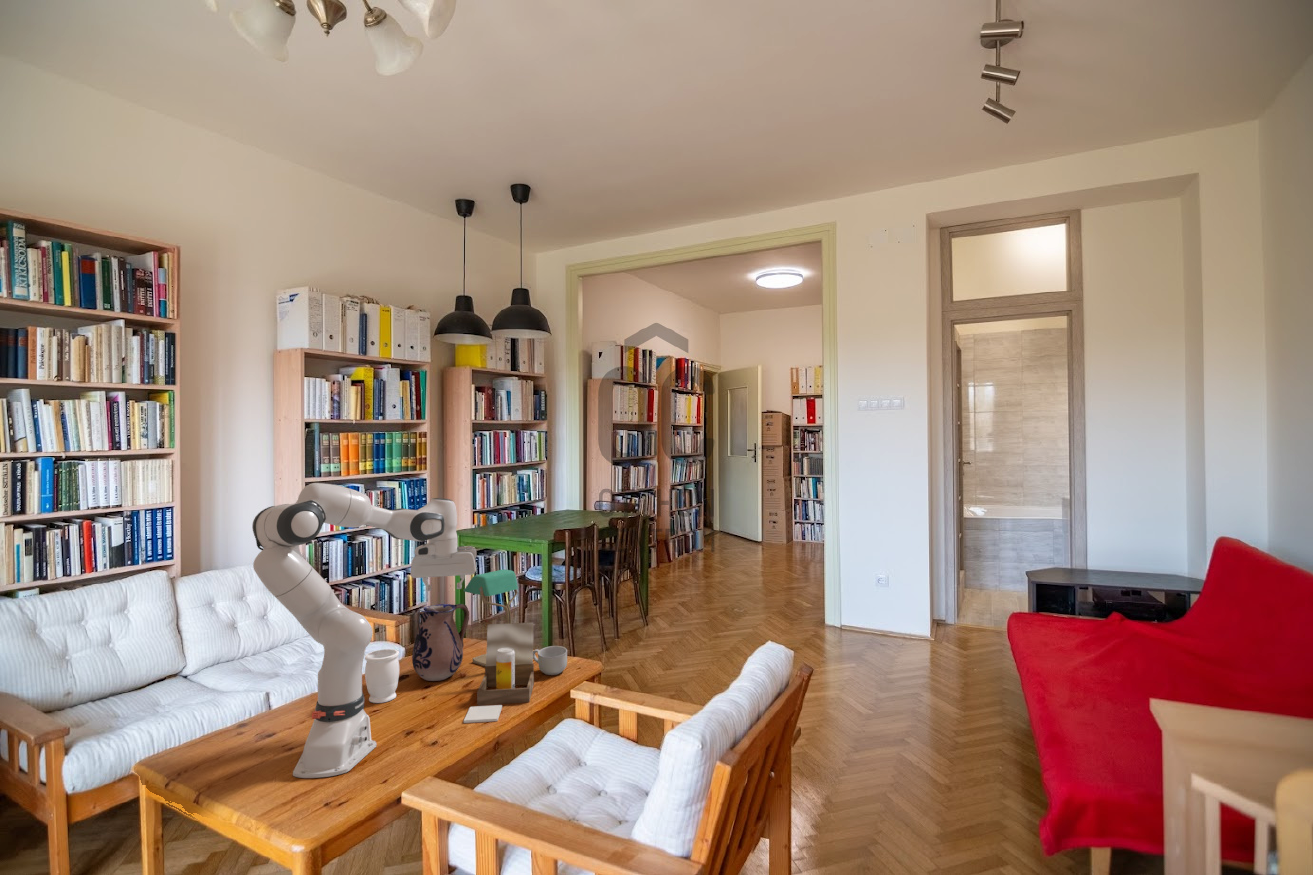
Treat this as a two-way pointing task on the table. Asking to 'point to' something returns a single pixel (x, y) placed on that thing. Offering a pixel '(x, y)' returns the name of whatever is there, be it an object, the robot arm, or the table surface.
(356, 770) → the table surface
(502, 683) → the beer can
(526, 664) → the box
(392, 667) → the jar
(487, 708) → the stone tile
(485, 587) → the banker's lamp
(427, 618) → the ceramic pitcher
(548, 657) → the teacup
